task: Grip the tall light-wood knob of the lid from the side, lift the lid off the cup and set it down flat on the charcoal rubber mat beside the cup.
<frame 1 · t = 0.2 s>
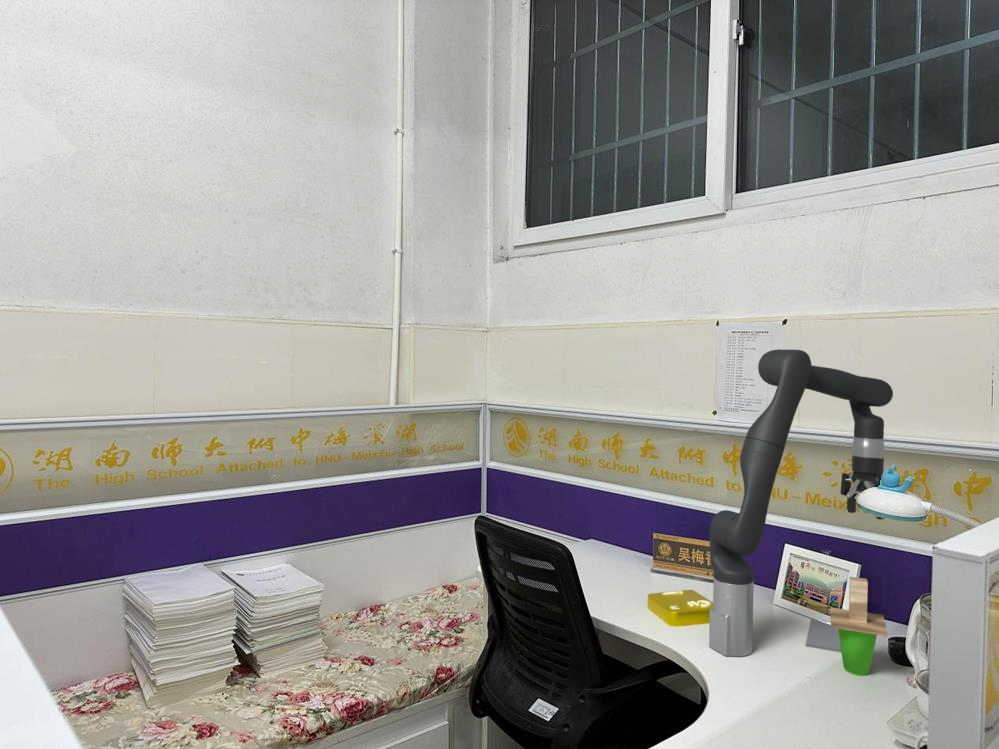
hand: (865, 515, 187), 29 cm above the table, tool pointing down, fingers open, 8 cm apart
element tile: (682, 616, 194), on the table
mat: (836, 637, 178), on the table
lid: (857, 622, 160), point 11 cm above the table, touching cup
cup: (856, 671, 160), on the table, touching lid
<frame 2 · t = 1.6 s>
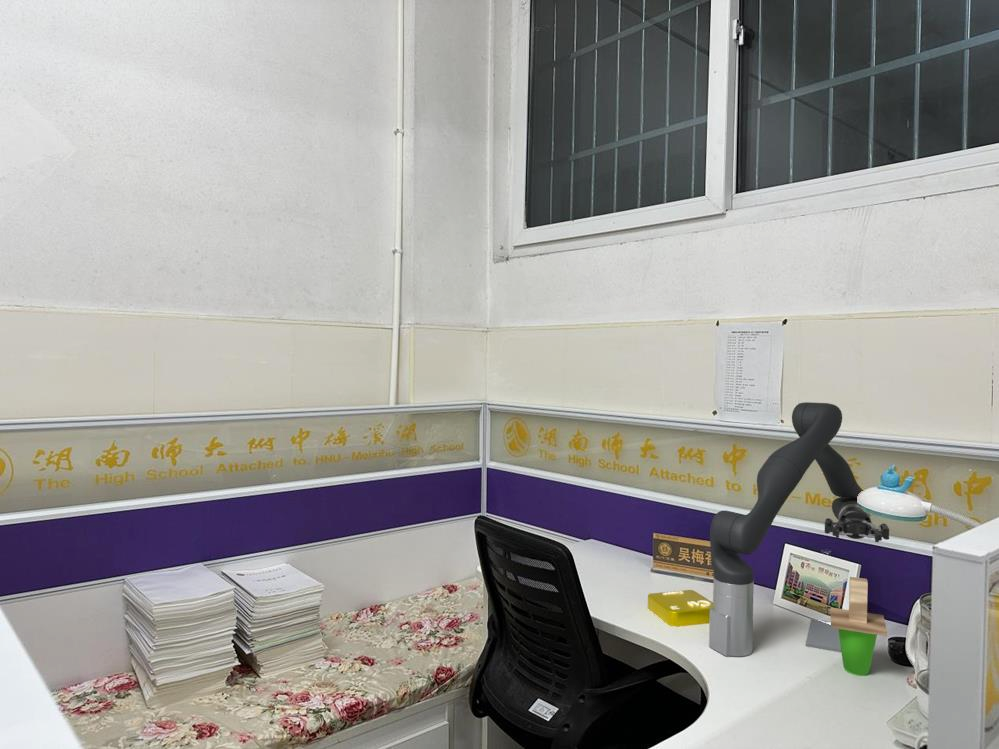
hand: (857, 536, 169), 28 cm above the table, tool horizontal, fingers open, 8 cm apart
nothing on the table moved.
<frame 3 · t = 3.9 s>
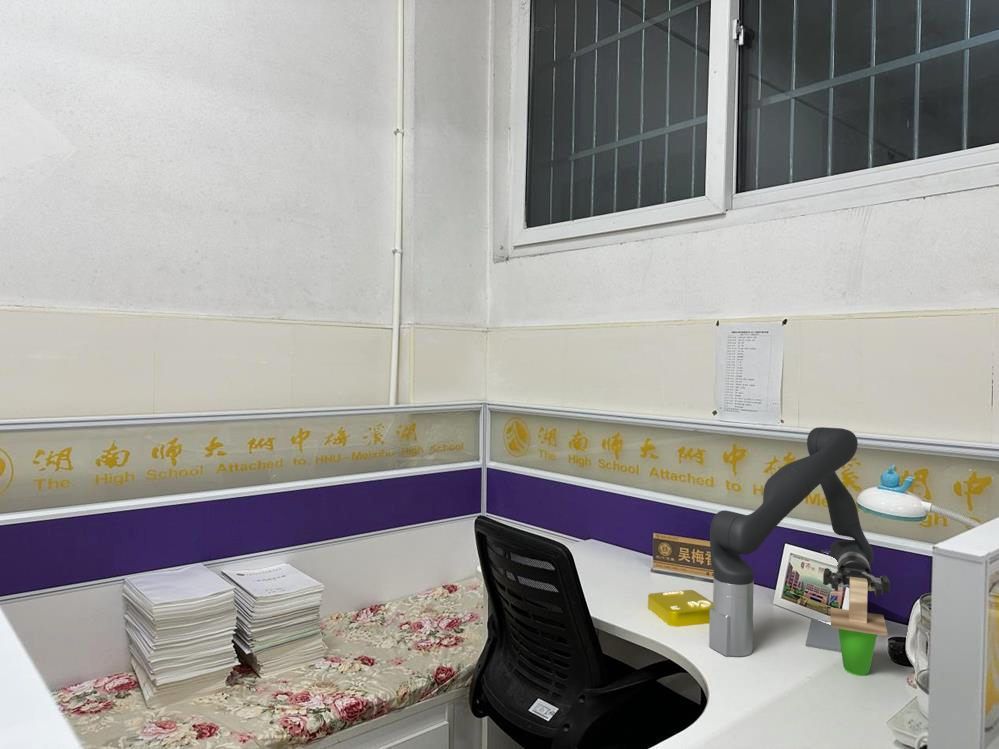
hand: (856, 589, 164), 17 cm above the table, tool horizontal, fingers open, 8 cm apart
nothing on the table moved.
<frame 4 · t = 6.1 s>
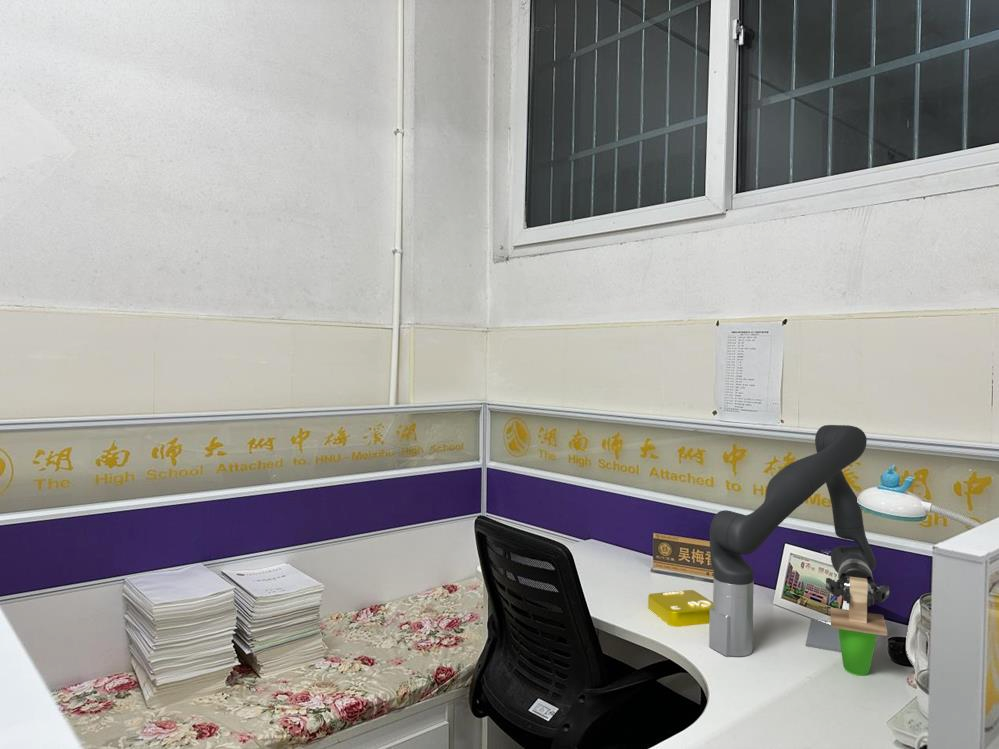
hand: (858, 600, 157), 17 cm above the table, tool horizontal, fingers closed on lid, 3 cm apart
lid: (857, 622, 160), point 11 cm above the table, touching cup, gripper
everything else where it was.
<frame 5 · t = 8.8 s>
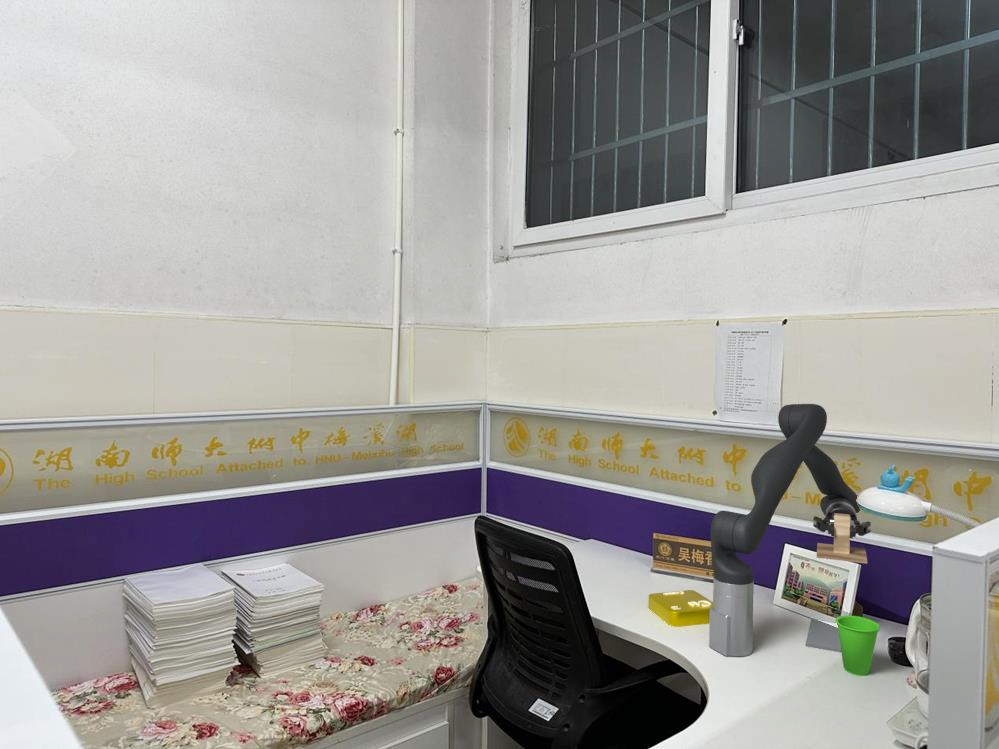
hand: (842, 533, 172), 28 cm above the table, tool horizontal, fingers closed on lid, 3 cm apart
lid: (841, 554, 175), point 22 cm above the table, touching gripper
cup: (856, 671, 160), on the table
everything else where it was.
when the fingers open (8 cm above the table, at t = 11.8 s): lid drops 2 cm, resting on mat.
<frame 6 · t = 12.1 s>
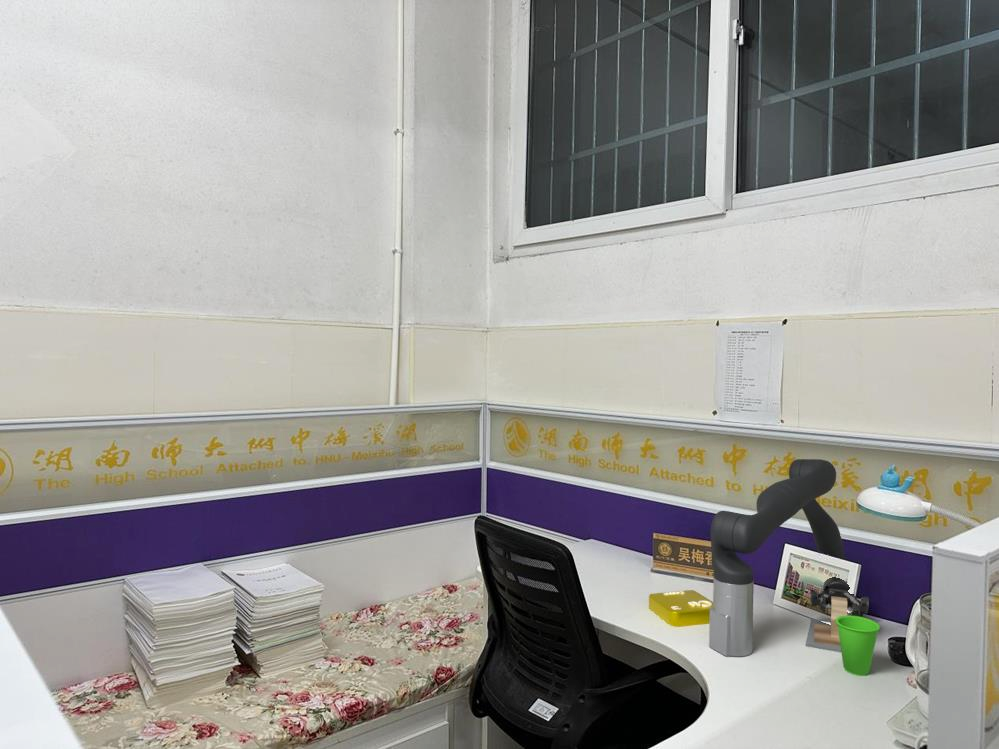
hand: (839, 611, 174), 8 cm above the table, tool horizontal, fingers open, 6 cm apart
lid: (838, 638, 176), point 1 cm above the table, touching mat
everything else where it was.
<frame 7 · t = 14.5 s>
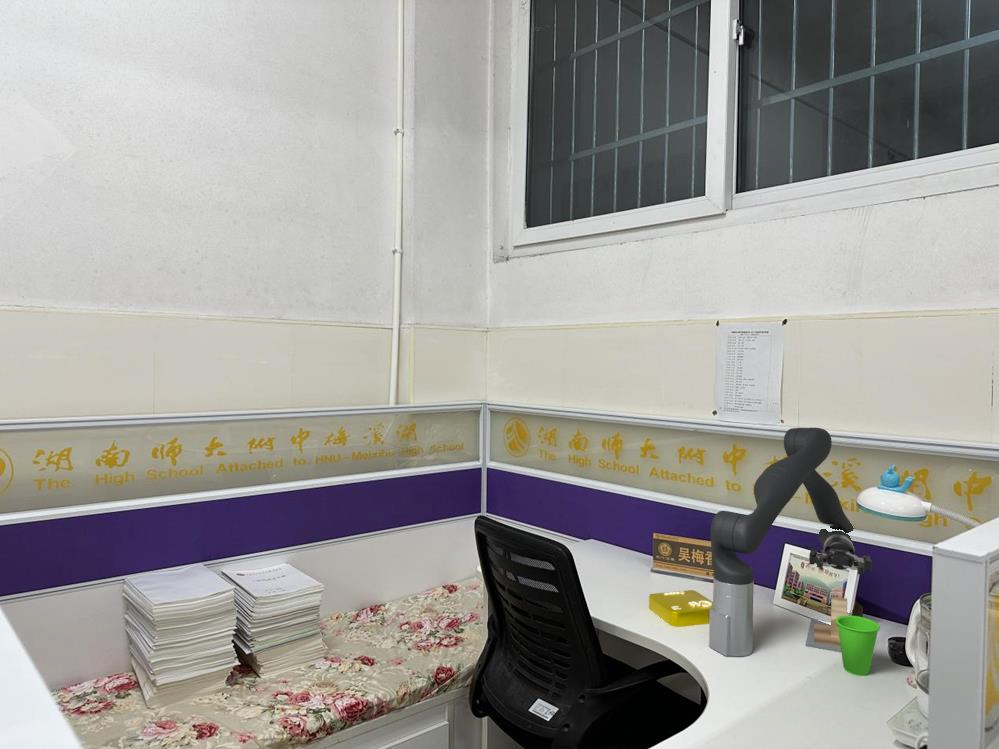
hand: (840, 568, 174), 19 cm above the table, tool horizontal, fingers open, 8 cm apart
nothing on the table moved.
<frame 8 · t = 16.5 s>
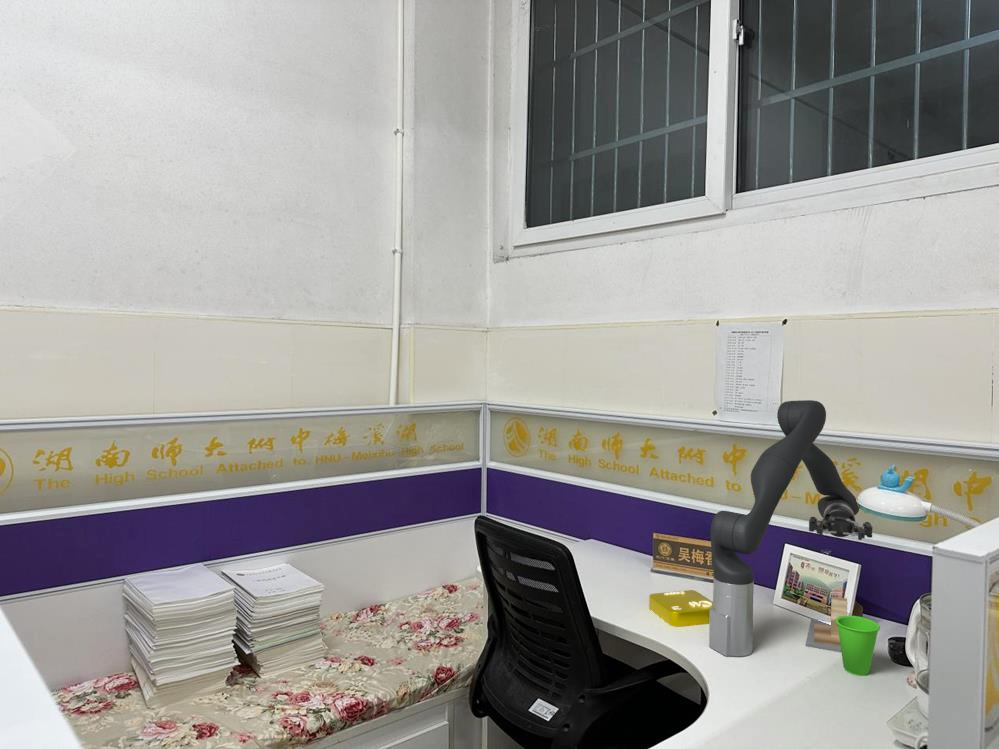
hand: (840, 533, 171), 28 cm above the table, tool horizontal, fingers open, 8 cm apart
nothing on the table moved.
at the end: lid inside the target area on the mat (1.7 cm from its centre), point 0.6 cm above the mat's base; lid touching mat; cup moved 0.2 cm from its start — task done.
